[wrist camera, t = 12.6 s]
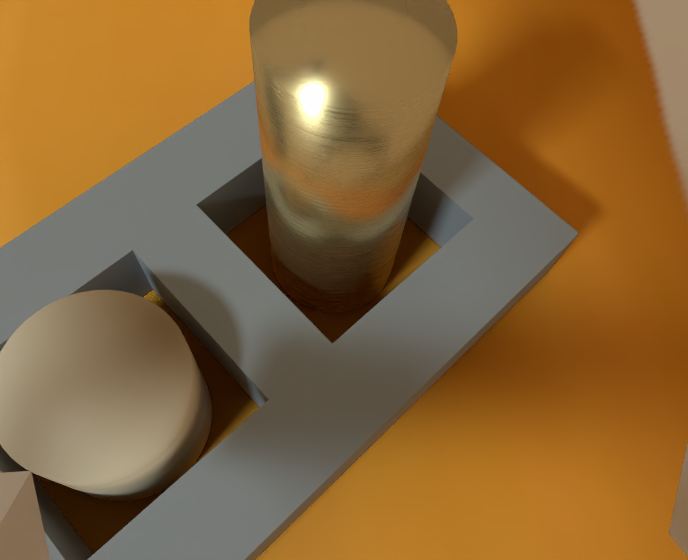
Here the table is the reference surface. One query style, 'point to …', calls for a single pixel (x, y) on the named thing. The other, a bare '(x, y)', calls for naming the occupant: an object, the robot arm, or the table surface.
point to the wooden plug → (103, 396)
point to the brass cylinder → (344, 135)
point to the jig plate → (275, 320)
